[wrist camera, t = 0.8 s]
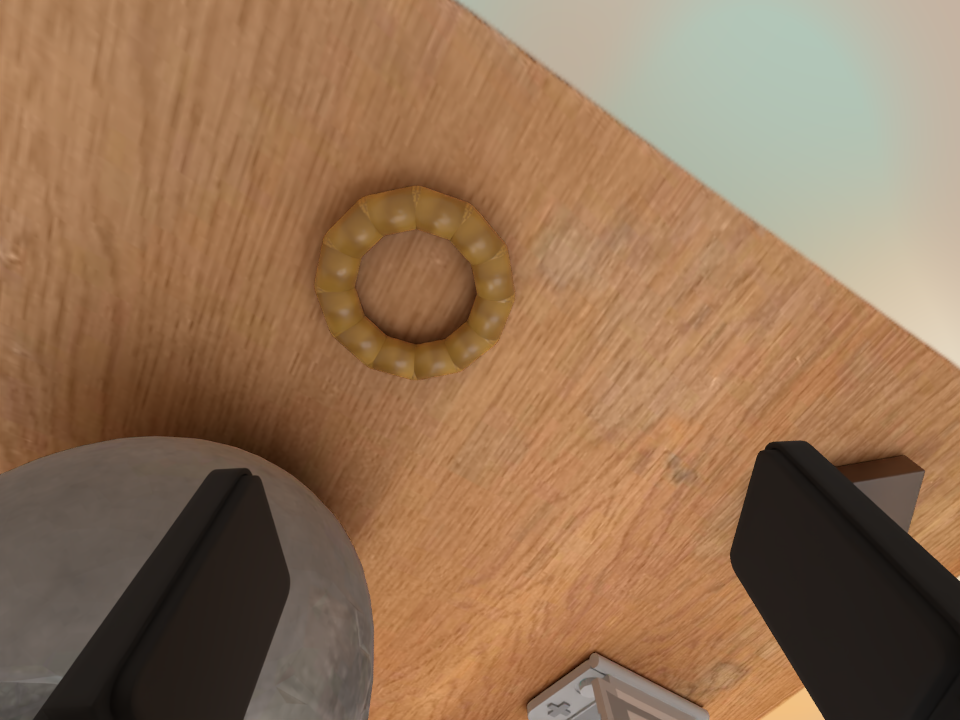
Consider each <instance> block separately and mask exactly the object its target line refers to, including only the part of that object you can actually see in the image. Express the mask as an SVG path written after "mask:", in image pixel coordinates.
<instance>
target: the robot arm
mask: <svg viewBox="0 0 960 720" xmlns="http://www.w3.org/2000/svg"><path fill="white" fill-rule="evenodd" d="M730 559H731V564H732V567H733V569H734V571H735V573H736V575H737V577H738V578H739V580H740V582H741V583H742V585H743V586H744V588H745V590H746V591H747V593H748V595H749V596H750V598H751V599H752V601H753V603H754V604H755V606H756V608H757V609H758V611H759V613H760V614H761V616H762V617H763V619H764V621H765V622H766V624H767V626H768V627H769V629H770V631H771V632H772V634H773V635H774V637H775V639H776V640H777V642H778V644H779V645H780V647H781V649H782V650H783V652H784V653H785V655H786V657H787V658H788V660H789V662H790V663H791V665H792V666H793V668H794V670H795V671H796V673H797V675H798V676H799V678H800V680H801V681H802V683H803V684H804V686H805V688H806V689H807V691H808V692H809V694H810V696H811V697H812V699H813V701H814V702H815V704H816V706H817V707H818V709H819V711H820V712H821V713H822V715H823V717H824V719H825V720H960V581H959V580H958V579H957V578H956V577H954V576H953V575H952V574H951V573H950V572H949V571H948V570H947V569H946V568H945V567H944V566H943V565H941V564H940V563H939V562H938V561H937V560H936V559H935V558H934V557H933V556H932V555H931V554H929V553H928V552H927V551H926V550H925V549H924V548H923V547H922V546H921V545H920V544H919V543H917V542H916V541H915V540H914V539H913V538H912V537H911V536H910V535H909V534H908V533H907V532H905V531H904V530H903V529H902V528H901V527H900V526H899V525H898V524H897V523H896V522H895V521H893V520H892V519H891V518H890V517H889V516H888V515H887V514H886V513H885V512H884V511H883V510H881V509H880V508H879V507H878V506H877V505H876V504H875V503H874V502H873V501H872V500H871V499H869V498H868V497H867V496H866V495H865V494H864V493H863V492H862V491H861V490H860V489H859V488H858V487H856V486H855V485H854V484H853V483H852V482H851V481H850V480H849V479H848V478H847V477H846V476H844V475H843V474H842V473H841V472H840V471H839V470H838V469H837V468H836V467H835V466H834V465H832V464H831V463H830V462H829V461H828V460H827V459H826V458H825V457H824V456H823V455H822V454H820V453H819V452H818V451H817V450H816V449H815V448H814V447H813V446H812V445H810V444H809V443H808V442H806V441H781V442H771V443H769V444H768V445H767V446H766V448H765V450H762V451H760V452H759V453H758V455H757V458H756V461H755V465H754V468H753V472H752V476H751V479H750V483H749V486H748V490H747V494H746V497H745V501H744V504H743V508H742V511H741V515H740V519H739V522H738V526H737V529H736V533H735V537H734V540H733V544H732V547H731V552H730ZM289 590H290V574H289V571H288V567H287V564H286V560H285V557H284V554H283V550H282V547H281V544H280V540H279V537H278V534H277V530H276V527H275V523H274V520H273V517H272V513H271V510H270V507H269V503H268V500H267V497H266V493H265V490H264V486H263V483H262V480H261V478H260V477H259V476H258V475H252V473H251V471H250V470H249V469H248V468H230V469H215V470H212V471H211V472H210V473H209V474H208V475H207V477H206V478H205V480H204V481H203V482H202V484H201V485H200V487H199V488H198V489H197V491H196V492H195V494H194V495H193V496H192V498H191V499H190V501H189V502H188V503H187V505H186V506H185V508H184V509H183V510H182V512H181V513H180V515H179V516H178V517H177V519H176V520H175V522H174V523H173V524H172V526H171V527H170V529H169V530H168V531H167V533H166V534H165V536H164V537H163V539H162V540H161V541H160V543H159V544H158V546H157V547H156V548H155V550H154V551H153V553H152V554H151V555H150V557H149V558H148V559H147V560H146V562H145V563H144V565H143V566H142V567H141V569H140V570H139V572H138V573H137V574H136V576H135V577H134V579H133V580H132V581H131V583H130V584H129V586H128V587H127V588H126V590H125V591H124V593H123V594H122V595H121V597H120V598H119V600H118V601H117V602H116V604H115V605H114V607H113V608H112V609H111V611H110V612H109V614H108V615H107V616H106V618H105V619H104V621H103V622H102V623H101V625H100V626H99V628H98V629H97V630H96V632H95V633H94V635H93V636H92V637H91V639H90V640H89V642H88V643H87V644H86V646H85V647H84V649H83V650H82V651H81V653H80V654H79V656H78V657H77V658H76V660H75V661H74V663H73V664H72V665H71V667H70V668H69V670H68V671H67V672H66V674H65V675H64V677H63V678H62V679H61V681H60V682H59V684H58V685H57V686H56V688H55V689H54V691H53V692H52V693H51V695H50V696H49V698H48V699H47V700H46V702H45V703H44V705H43V706H42V707H41V709H40V710H39V712H38V713H37V714H36V716H35V717H34V719H33V720H244V717H245V714H246V711H247V709H248V706H249V703H250V700H251V698H252V695H253V692H254V689H255V687H256V684H257V681H258V678H259V675H260V673H261V670H262V667H263V664H264V662H265V659H266V656H267V653H268V651H269V648H270V645H271V642H272V640H273V637H274V634H275V631H276V628H277V626H278V623H279V620H280V617H281V615H282V612H283V609H284V606H285V604H286V601H287V598H288V595H289Z"/></svg>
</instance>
